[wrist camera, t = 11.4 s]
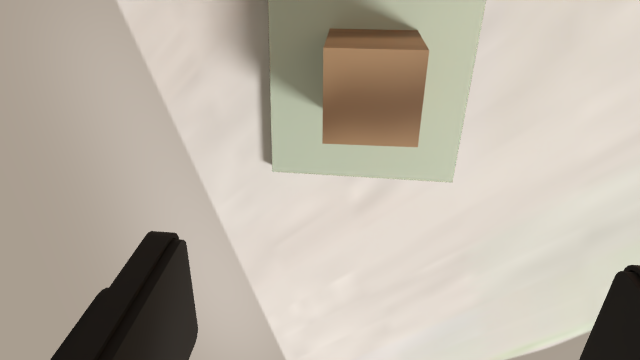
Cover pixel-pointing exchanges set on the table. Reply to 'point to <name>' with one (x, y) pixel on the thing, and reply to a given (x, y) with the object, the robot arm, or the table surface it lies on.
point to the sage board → (307, 85)
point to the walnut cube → (373, 87)
